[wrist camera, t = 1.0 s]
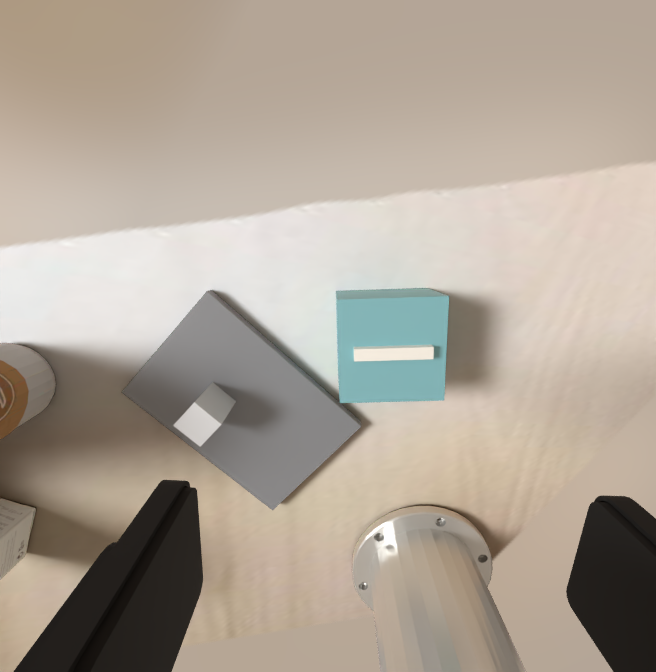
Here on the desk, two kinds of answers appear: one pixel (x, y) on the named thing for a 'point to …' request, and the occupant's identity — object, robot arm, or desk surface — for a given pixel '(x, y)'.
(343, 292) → the teal box
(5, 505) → the skincare box
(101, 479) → the desk surface
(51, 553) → the desk surface
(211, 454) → the board
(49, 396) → the coffee cup
